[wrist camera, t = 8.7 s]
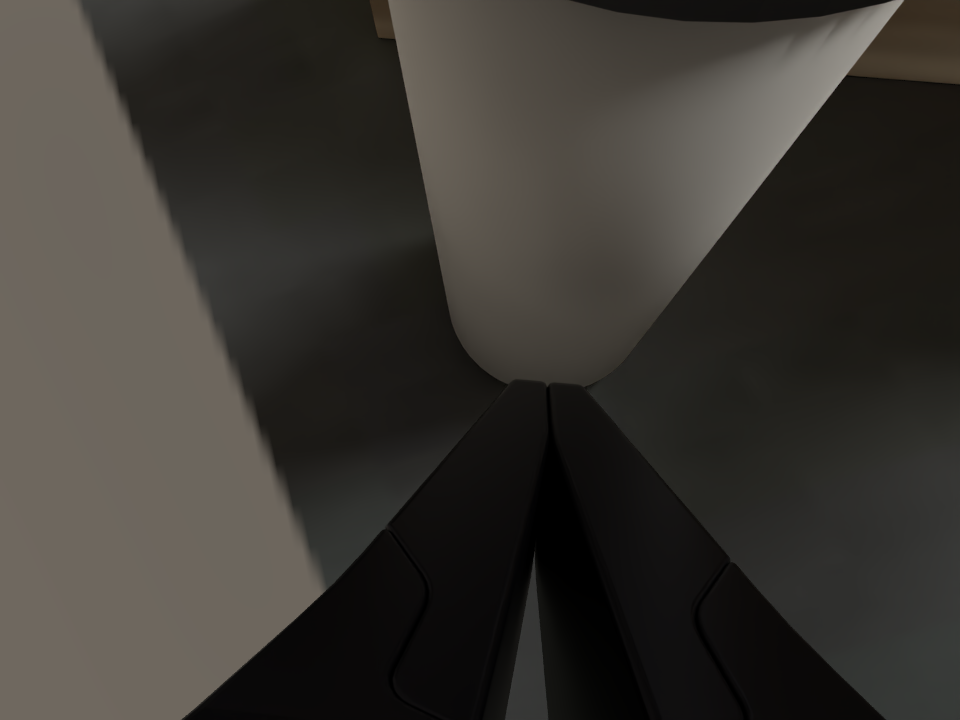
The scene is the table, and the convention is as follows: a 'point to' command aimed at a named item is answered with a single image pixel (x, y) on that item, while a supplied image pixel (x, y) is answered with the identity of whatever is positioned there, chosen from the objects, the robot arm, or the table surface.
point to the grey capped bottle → (601, 153)
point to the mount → (892, 54)
